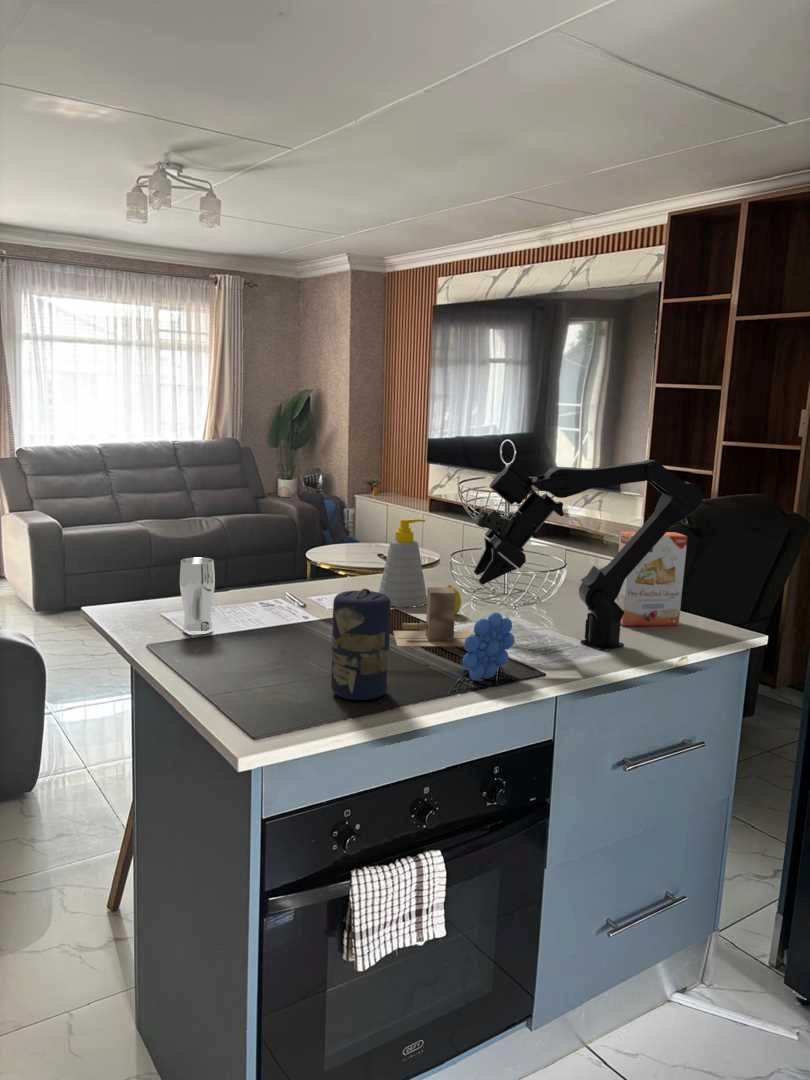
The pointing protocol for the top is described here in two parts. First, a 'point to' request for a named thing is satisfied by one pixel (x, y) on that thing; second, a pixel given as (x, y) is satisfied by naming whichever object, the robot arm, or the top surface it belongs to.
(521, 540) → the robot arm
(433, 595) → the gauge
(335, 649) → the canister
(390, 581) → the soap bottle
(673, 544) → the cracker box
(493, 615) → the grapes
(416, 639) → the board
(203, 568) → the beer glass
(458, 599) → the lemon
